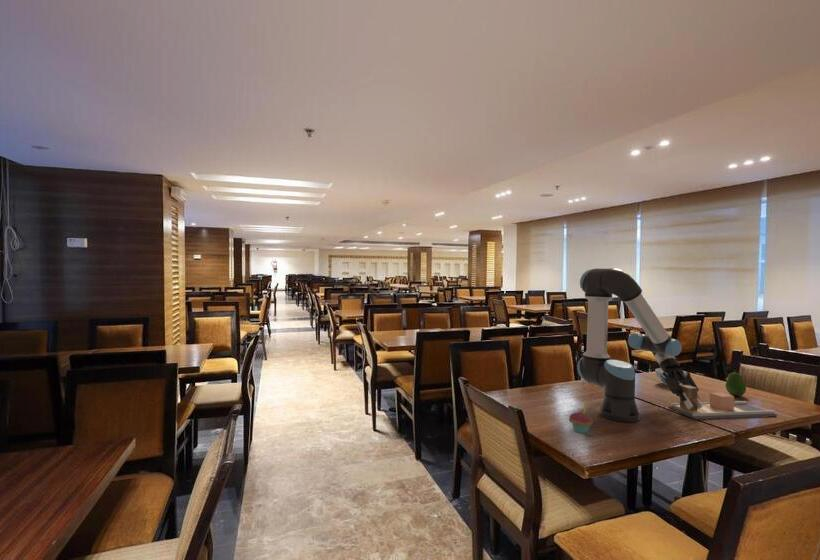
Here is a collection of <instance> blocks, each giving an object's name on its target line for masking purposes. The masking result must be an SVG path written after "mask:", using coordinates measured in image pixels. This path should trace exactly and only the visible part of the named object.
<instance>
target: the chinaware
mask: <svg viewBox="0 0 820 560" xmlns="http://www.w3.org/2000/svg"><path fill="white" fill-rule="evenodd" d="M654 370H655V373H656V374H655V375H656V376H657V378H658V379H659V380H660V381H661V382H662V383H663V385H665V386H668V385H667V384H666V382H665V380H664V379H663V378H662V377H661V374H662V373H663V370H662V369H661V367H659V368H655V369H654ZM683 372H686V373H687V372H688V371H684V370H683ZM678 382H679V381H678ZM679 384H680V385H681V384H682V383H681V382H679Z"/></svg>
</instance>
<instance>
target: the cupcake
mask: <svg viewBox="0 0 820 560" xmlns="http://www.w3.org/2000/svg"><path fill="white" fill-rule="evenodd" d="M587 404H588V403H587V402H584V405H583V411H582V412H581V411H580V412H579V411H578V412H574V413H571V414H570V415H569V418H568V421H569V422H570V423H571V424H572V426H573V430H574V432H576V433H579V434H587V433H588V431H589V429H590V427H591V426H592V425H593V423H594V422H593V418H592V416H590V415H589V414H588V413H586V410H587V409H586V408H587Z"/></svg>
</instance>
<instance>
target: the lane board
mask: <svg viewBox="0 0 820 560" xmlns="http://www.w3.org/2000/svg"><path fill="white" fill-rule="evenodd" d="M701 403H702V405H704V404H710V401H708V402H705V401H704V402H701ZM669 404H670V405H668V408H669V409H671V410H673V411H676V412H678V413H680V414H683V415H684V416H687V417H689V418H692V419H694V420H715V419H717V418H720V419H743V418H746V417H748V418H765V417H766V418H768V417H767V416H776V417H777V415H778V414H777V413H776V412H775V410H774V409H768V410H765V409H762V408H759V407H757V406H753V405H751V404H748V401H746V400H744V401H743V400H738V401H735V400H734V407H736V408H739V409H742V410H745V411H735V412H705V413H692V414H689V413H687V412H685V411H683V410H680V409H678V408H676V407H675V405H680V403H679V402H678V403H677V402H675V403H672V402H671V403H669Z"/></svg>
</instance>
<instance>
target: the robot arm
mask: <svg viewBox="0 0 820 560" xmlns="http://www.w3.org/2000/svg"><path fill="white" fill-rule="evenodd" d="M579 286H580V289H581V290H582V291H583V292H584V297H585V299H586V300H587V322H586V323H587V329H586V330H587V331H586V351H584V352H583V353H582V357H581V358H579V361H577V365H576V370H577V374H578V376H579V377H580V378H581V379H582V380H583V381H585V382H587V383H589V384H593V385H596V386H598V387H602V388H604V396H603V400H602V403H601V405H600V408H599V414H600V416H602V417H603V418H605V419H608V420H612V421H615V422H622V423H634V422H635V423H636V422H639V420H640V418H641V417H640V412H639V408H638V405H637V403H636V371H635V367H634V366H633V364H631V363H629V362H626V361H623V360H619V359H611V356H610V355H609V353H608V351H607V350H608V346H607V345H608V325H609V324H608V323H609V302H610V300H611V299H613V296H616V297H617V298H618V299H619V300H620V302H622V303H624V304H625V305H626V306H627V308H628V309H629V311H630V313H632V315H633V317H634V319H636V321H637V323H638V324H639V326H640V327H641V328H642V330H643V331H644V333H645V334H643V333H640V332H637V333H636V332H633V333H631V334H629V336H628V338H627V339H628V340H627V344H628V345H629V346H630V348H632V349H635V350H642V351H645V352H650V353H652V355H653V357H654V358H655V359H656V361H657V363H658V364H659V368H661V369H662V370H663V373H662V374H661V377H662V378H663V379H664V380H665V382H666V384H667V385H666V386H668V388H669V390H670V391H671V394H673V395H675V396H677V397H679V400H680V399H681V400H682V401H683V402H684V403H685V405H686V407H687V408H688V409H691V408H692V407H693V405H692V404H691V402H690V400H689V399H688V397H687V395H686V394H685V393H682V389H681V387H680V385H690V386H693V387H696V388H697V393H699V391H700V389H699V387H698V386H697V384H696V383H695V381H694V379H693V378H692V375H691V373H690V372H689V371H685V372H683V371H684V370H683V369H682V368H681V365H680V363H679V361H678V360H677V359H676V357H677V356H679V355H680V353H681V352H682V350H683V349H682V348H683V346H682V343H681V341H679V340H678V339H675V338H672V337H671V336H670V335H669V333H668V332H667V330H666V328H665V327H664V325H663V324H662V323H661V321H660V319H659V318H658V316H657V315H656V314H655V311H653V309H652V307H651V306H650V305H649V303H648V302H647V300H646V298H645V297H644V295H643V294H642V292H643V289H642V288H641V286H640V285H639V283H637V281H636V280H635V279H634V278H633V277H632V276H631V275H630V274H629V273H627V272H625V271H624V270H622V269H620V268H615V267H612V268H611V267H610V268H609V267H608V268H591V269H587V270H586V271H584V273H582V275H581V277H580V279H579ZM686 372H687V373H686ZM678 381H679V382H681V383H680V384H679V382H678ZM702 403H703V402H701V398H700V396H699V395H698V394H697V408H698V409H700V408H701V407H703V405H702Z"/></svg>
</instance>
